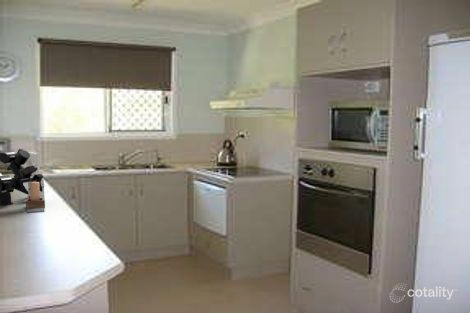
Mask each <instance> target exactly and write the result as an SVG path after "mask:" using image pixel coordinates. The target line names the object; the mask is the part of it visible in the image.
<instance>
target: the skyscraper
mask: <svg viewBox="0 0 470 313" xmlns="http://www.w3.org/2000/svg"><path fill="white" fill-rule="evenodd" d="M26 151H27V152H28V153H29V154H30V157H29V159H28V160H27V162H26V163H25V168H26V167H28V166H32V165H35V166H36V167H37V170H36V172H34V173H32V176H31V178H33V176H34V175H36V174H41V173H40V170H41V166H40V165H41V164H40V157H39V152H38V151H36V150H33V149H28V150H26ZM27 198H29V195H28V194H27Z"/></svg>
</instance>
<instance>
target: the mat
mask: <svg viewBox="0 0 470 313" xmlns="http://www.w3.org/2000/svg"><path fill="white" fill-rule="evenodd" d="M44 212H45V208H34V209H26V214H31V213H44Z"/></svg>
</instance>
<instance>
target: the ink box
mask: <svg viewBox="0 0 470 313" xmlns="http://www.w3.org/2000/svg"><path fill="white" fill-rule="evenodd" d="M44 180H45V178H43V179H42V180H41V186H42V190H43V191H42V192H41V191H40V198H45V181H44ZM27 187H28V188H27V191H28V193H29V194H27V196H28V195H29V197H28V199H31V197H30V182H28V183H27Z"/></svg>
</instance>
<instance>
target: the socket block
mask: <svg viewBox="0 0 470 313" xmlns="http://www.w3.org/2000/svg"><path fill="white" fill-rule="evenodd" d="M45 201H46V199H45V197H44V198H40V200H37V201H31V199H29V198H25V210H27V209H34V208H44V209H45V208H46V202H45Z"/></svg>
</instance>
